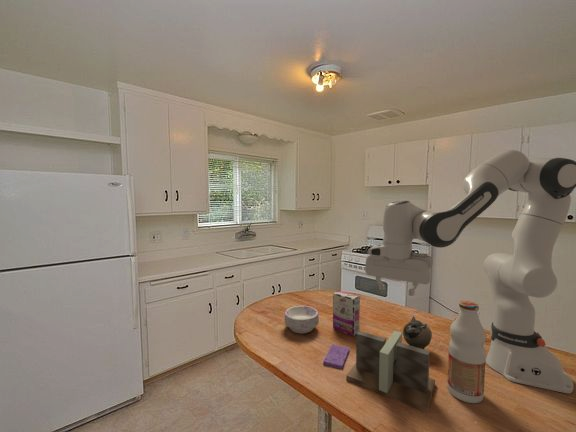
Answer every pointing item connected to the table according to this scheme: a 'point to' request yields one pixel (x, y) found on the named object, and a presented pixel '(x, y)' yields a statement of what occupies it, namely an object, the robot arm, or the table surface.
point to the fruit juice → (467, 355)
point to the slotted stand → (394, 371)
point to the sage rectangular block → (388, 361)
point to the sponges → (336, 356)
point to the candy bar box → (346, 312)
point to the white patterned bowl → (301, 318)
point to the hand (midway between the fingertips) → (396, 292)
